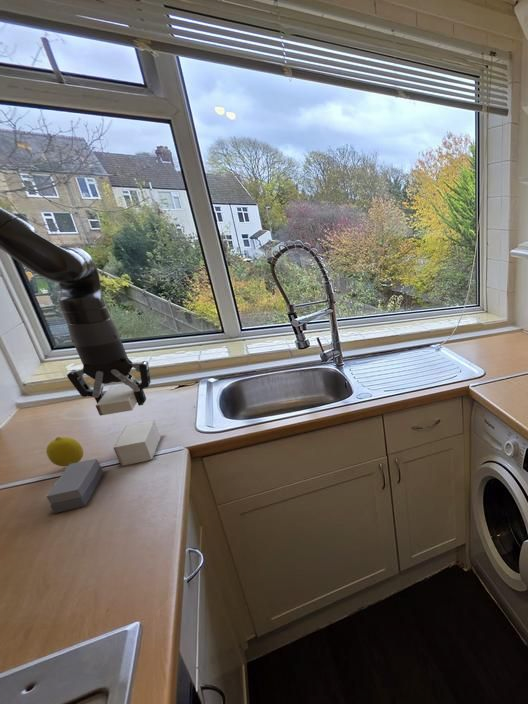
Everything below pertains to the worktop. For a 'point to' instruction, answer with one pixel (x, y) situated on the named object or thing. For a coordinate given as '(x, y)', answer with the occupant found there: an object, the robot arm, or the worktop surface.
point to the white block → (137, 443)
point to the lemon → (64, 451)
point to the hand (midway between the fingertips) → (124, 406)
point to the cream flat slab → (117, 400)
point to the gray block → (75, 485)
